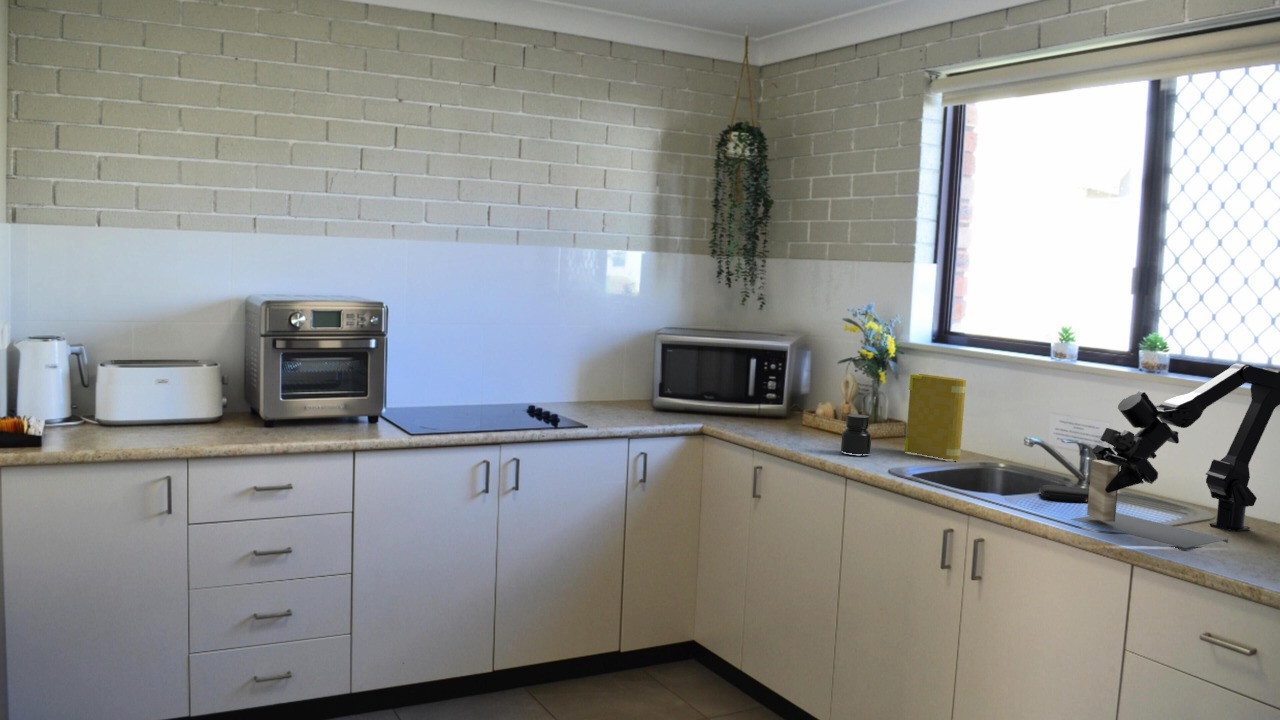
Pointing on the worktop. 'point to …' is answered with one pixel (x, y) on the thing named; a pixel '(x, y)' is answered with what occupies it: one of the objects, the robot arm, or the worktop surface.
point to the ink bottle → (856, 435)
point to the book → (935, 416)
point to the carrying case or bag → (1065, 493)
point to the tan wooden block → (1102, 491)
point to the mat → (1154, 531)
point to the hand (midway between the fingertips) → (1097, 488)
